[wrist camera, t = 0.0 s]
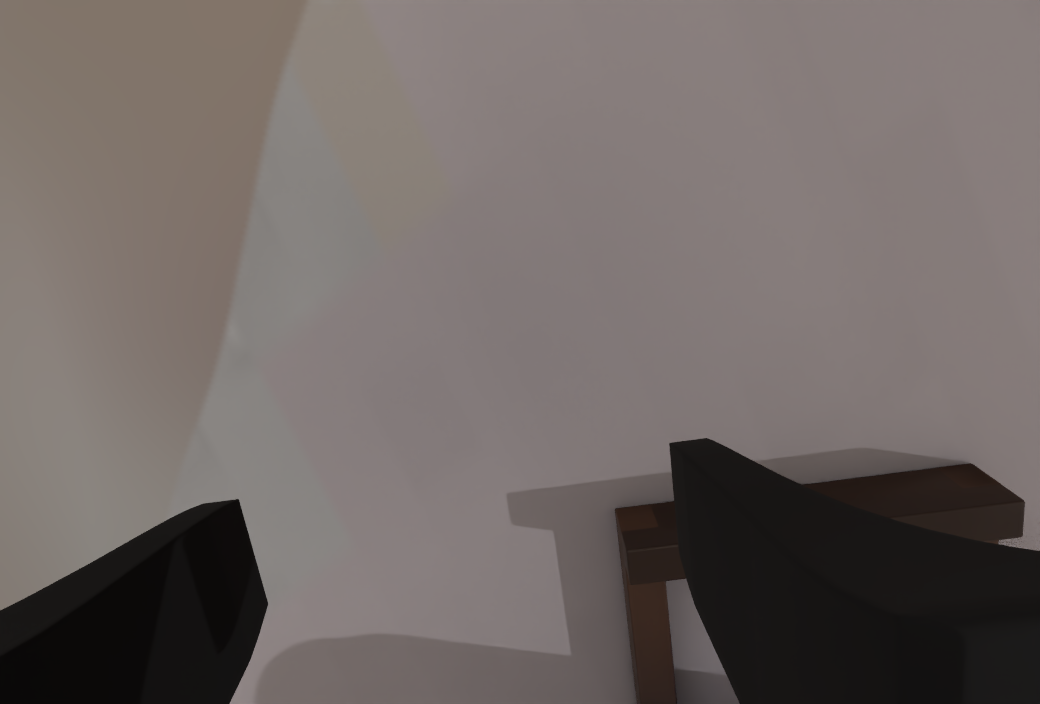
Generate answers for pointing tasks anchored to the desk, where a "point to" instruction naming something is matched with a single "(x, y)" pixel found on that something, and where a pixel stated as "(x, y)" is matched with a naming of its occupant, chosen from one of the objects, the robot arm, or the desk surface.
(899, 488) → the can track
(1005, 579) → the robot arm
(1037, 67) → the desk surface
